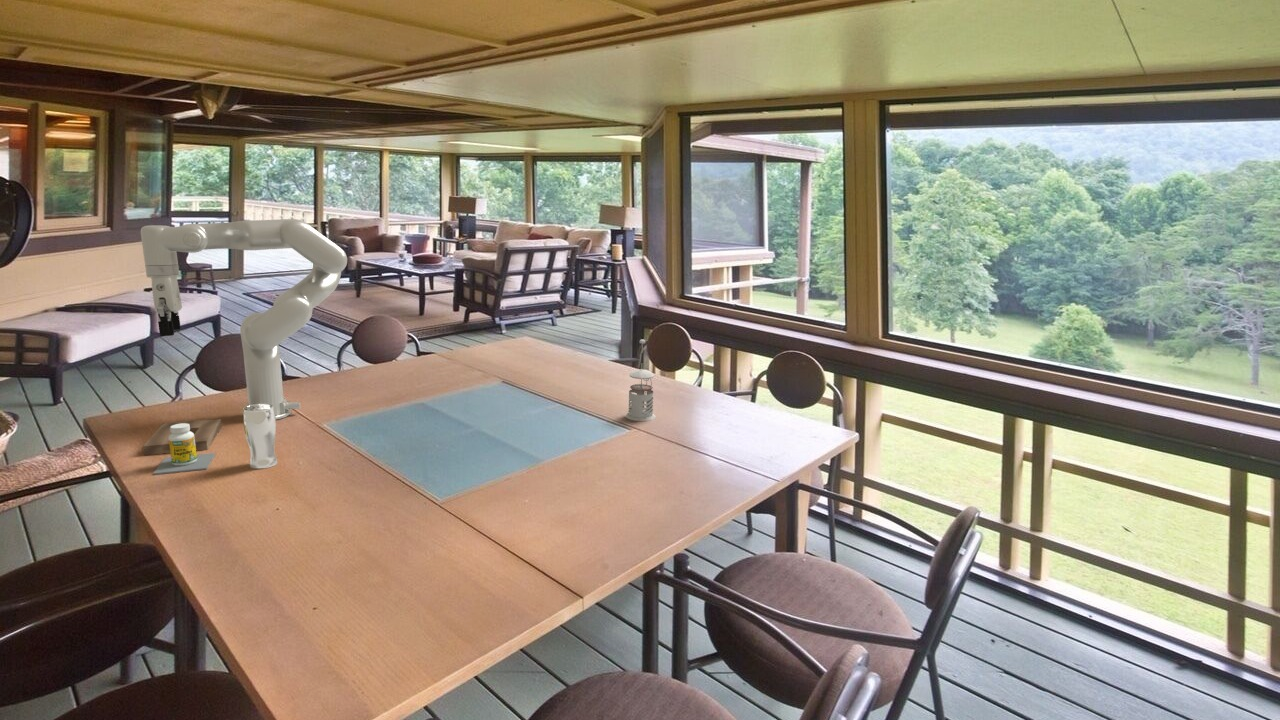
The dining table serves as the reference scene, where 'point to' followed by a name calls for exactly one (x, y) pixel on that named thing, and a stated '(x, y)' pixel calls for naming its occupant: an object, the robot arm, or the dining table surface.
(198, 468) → the rubber mat
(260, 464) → the beer glass
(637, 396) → the french press
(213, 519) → the dining table surface
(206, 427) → the brown board with hole
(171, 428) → the supplement bottle
